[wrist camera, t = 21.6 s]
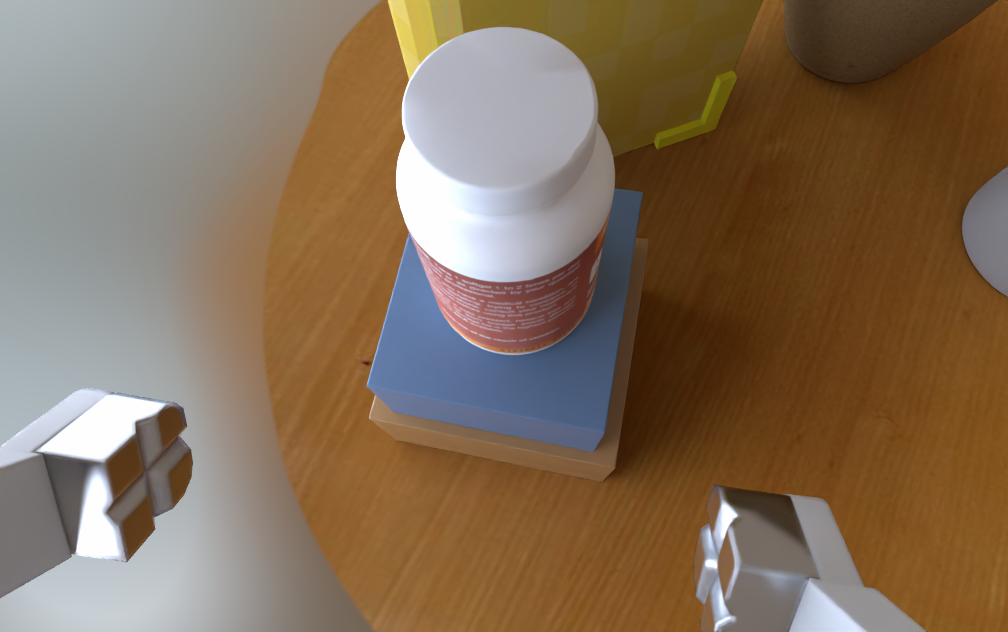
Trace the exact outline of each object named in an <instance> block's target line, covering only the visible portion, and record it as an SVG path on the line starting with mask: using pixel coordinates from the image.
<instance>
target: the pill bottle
mask: <svg viewBox="0 0 1008 632" xmlns="http://www.w3.org/2000/svg"><path fill="white" fill-rule="evenodd" d="M597 121H598V98H597V93H596V89H595V84H594V82H593V79H592V77H591V75H590V74H589V72H588V70H587V68H586V67H585V65H584V64H583V62H582V61H581V60H580V59H579V58H578V57H577V56H576V55H575V54H574V53H573V52H572V51H571V50H570V49H568V48H567V47H566V46H564V45H563V44H561V43H560V42H558V41H556V40H554V39H553V38H551V37H549V36H547V35H544V34H542V33H538V32H534V31H531V30H527V29H522V28H512V27H494V28H485V29H480V30H475V31H471V32H468V33H465V34H463V35H460V36H458V37H455V38H454V39H452V40H450V41H448V42H446V43H444V44H443V45H441V46H440V47H438V48H437V49H436V50H434V51H433V52H432V53H431V54H429V55H428V56H427V57H426V58H425V59H424V60H423V62H422V63H421V64H420V65H419V66H418V67H417V69H416V70H415V72H414V73H413V75H412V76H411V78H410V80H409V83H408V85H407V88H406V91H405V94H404V98H403V104H402V123H403V128H404V132H405V136H406V138H405V141H404V143H403V146H402V148H401V151H400V155H399V159H398V163H397V173H396V184H397V194H398V200H399V204H400V207H401V210H402V213H403V216H404V219H405V222H406V226H407V228H408V230H409V233H410V235H411V238H412V240H413V242H414V245H415V247H416V250H417V252H418V255H419V257H420V260H421V263H422V265H423V267H424V270H425V272H426V275H427V278H428V280H429V282H430V285H431V288H432V290H433V292H434V295H435V298H436V301H437V303H438V306H439V308H440V310H441V312H442V313H443V315H444V317H445V318H446V320H447V321H448V322H449V324H450V325H451V326H452V327H453V328H454V330H455V331H456V332H458V333H459V334H460V335H461V336H462V337H463V338H464V339H466V340H467V341H468V342H470V343H472V344H473V345H475V346H477V347H479V348H482V349H484V350H487V351H490V352H493V353H498V354H505V355H524V354H530V353H534V352H538V351H541V350H544V349H546V348H548V347H550V346H553V345H554V344H556V343H558V342H559V341H561V340H562V339H564V338H565V337H566V336H567V335H569V334H570V333H571V332H572V331H573V330H574V329H575V328H576V326H577V325H578V324H579V323H580V321H581V320H582V319H583V317H584V315H585V314H586V312H587V310H588V307H589V305H590V303H591V300H592V297H593V294H594V289H595V285H596V279H597V274H598V269H599V264H600V259H601V254H602V249H603V245H604V240H605V234H606V229H607V225H608V220H609V215H610V211H611V206H612V201H613V195H614V187H615V168H614V159H613V155H612V151H611V147H610V145H609V142H608V140H607V138H606V136H605V134H604V132H603V130H602V128H601V127H600V125H599V123H598V122H597Z"/></svg>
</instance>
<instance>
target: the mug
mask: <svg viewBox="0 0 1008 632" xmlns="http://www.w3.org/2000/svg"><path fill="white" fill-rule="evenodd" d="M962 234H963V240H964V245H965V248H966V250H967V253H968V255H969V257H970V259H971V261H972V263H973V264H974V266H975V267H976V269H977V270H978V272H979V273H980V274H981V275H982V276H983V278H984V279H985V280H986V281H988V282H989V283H990V284H991V285H992V286H993V287H994V288H996V289H997V290H998V291H1000V292H1001V293H1002V294H1004V295H1006V296H1007V297H1008V166H1007V167H1006V168H1005V169H1003V170H1002V171H1001V172H999V173H998V174H997V175H995V176H994V177H993V178H991V179H990V180H989V181H988V182H986V183H985V184H984V185H983V186H982V187H981V188H980V189H979V190H978V191H977V192H976V193H975V194H974V195H973V197H972V198H971V200H970V201H969V203H968V205H967V207H966V209H965V212H964V216H963V223H962Z"/></svg>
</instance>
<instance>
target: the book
mask: <svg viewBox="0 0 1008 632" xmlns="http://www.w3.org/2000/svg"><path fill="white" fill-rule="evenodd" d="M762 1H763V0H388V3H389V6H390V10H391V14H392V18H393V21H394V25H395V29H396V32H397V36H398V40H399V44H400V47H401V51H402V55H403V59H404V62H405V66H406V70H407V73H408V77H409V80H410V78H411V76H412V75H413V73H414V72H415V70H416V69H417V67H418V66H419V65H420V64H421V63H422V62H423V60H424V59H425V58H426V57H427V56H428V55H429V54H431V53H432V52H433V51H434V50H436V49H437V48H438V47H440V46H441V45H443V44H444V43H446V42H448V41H450V40H452V39H454V38H455V37H458V36H460V35H463V34H465V33H468V32H471V31H475V30H480V29H485V28H494V27H512V28H522V29H527V30H531V31H534V32H538V33H542V34H544V35H547V36H549V37H551V38H553V39H554V40H556V41H558V42H560V43H561V44H563V45H564V46H566V47H567V48H568V49H570V50H571V51H572V52H573V53H574V54H575V55H576V56H577V57H578V58H579V59H580V60H581V61H582V62H583V64H584V65H585V67H586V68H587V70H588V72H589V74H590V75H591V77H592V79H593V82H594V84H595V89H596V93H597V98H598V121H597V122H598V123H599V125H600V127H601V128H602V130H603V132H604V134H605V136H606V138H607V140H608V142H609V145H610V147H611V151H612V155H613V157H615V156H618V155H620V154H623V153H626V152H629V151H632V150H635V149H638V148H641V147H644V146H647V145H650V144H653V143H654V144H655V146H656V148H657V149H660V148H663V147H666V146H669V145H671V144H674V143H677V142H680V141H683V140H686V139H689V138H692V137H695V136H698V135H701V134H704V133H706V132H709V131H712V130H715V129H716V127H717V125H718V122H719V119H720V116H721V114H722V112H723V109H724V107H725V105H726V102H727V100H728V98H729V95H730V93H731V91H732V88H733V86H734V84H735V81H736V79H737V76H736V74H735V72H734V69H735V66H736V64H737V61H738V59H739V57H740V54H741V52H742V49H743V47H744V44H745V42H746V40H747V37H748V35H749V32H750V30H751V28H752V25H753V23H754V20H755V18H756V16H757V13H758V11H759V8H760V6H761V3H762Z"/></svg>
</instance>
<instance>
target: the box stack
mask: <svg viewBox="0 0 1008 632" xmlns="http://www.w3.org/2000/svg"><path fill="white" fill-rule="evenodd" d="M642 197H643V193H642V192H638V191H631V190H625V189H619V188H614V195H613V201H612V206H611V211H610V215H609V220H608V225H607V229H606V234H605V240H604V245H603V249H602V254H601V259H600V264H599V269H598V274H597V279H596V285H595V289H594V294H593V297H592V300H591V303H590V305H589V307H588V310H587V312H586V314H585V315H584V317H583V319H582V320H581V321H580V323H579V324H578V325H577V326H576V328H575V329H574V330H573V331H572V332H571V333H570V334H569V335H567V336H566V337H565V338H564V339H562V340H561V341H559V342H558V343H556V344H554V345H553V346H550V347H548V348H546V349H544V350H541V351H538V352H534V353H530V354H524V355H505V354H498V353H493V352H490V351H487V350H484V349H482V348H479V347H477V346H475V345H473V344H472V343H470V342H468V341H467V340H466V339H464V338H463V337H462V336H461V335H460V334H459V333H458V332H456V331H455V330H454V328H453V327H452V326H451V325H450V324H449V322H448V321H447V320H446V318H445V317H444V315H443V313H442V312H441V310H440V308H439V306H438V303H437V301H436V298H435V295H434V292H433V290H432V288H431V285H430V282H429V280H428V278H427V275H426V272H425V270H424V267H423V265H422V263H421V260H420V257H419V255H418V252H417V250H416V247H415V245H414V242H413V240H412V238H411V235H410V233H409V235H408V239H407V242H406V246H405V250H404V253H403V257H402V260H401V264H400V268H399V271H398V275H397V278H396V282H395V286H394V289H393V293H392V296H391V300H390V304H389V307H388V311H387V314H386V318H385V322H384V325H383V329H382V332H381V336H380V340H379V343H378V347H377V350H376V354H375V358H374V361H373V365H372V368H371V372H370V376H369V379H368V383H367V387H368V388H369V389H370V390H371V391H372V392H373V393H374V394H375V398H374V401H373V405H372V409H371V412H370V416H369V419H370V420H371V421H372V422H374V423H375V424H376V425H377V426H379V427H380V428H381V429H382V430H384V431H385V432H386V433H388V434H389V435H390V436H391V437H393V438H394V439H395V440H398V441H403V442H408V443H413V444H417V445H422V446H427V447H432V448H437V449H442V450H447V451H452V452H457V453H461V454H466V455H471V456H476V457H481V458H486V459H491V460H496V461H501V462H505V463H510V464H515V465H520V466H525V467H530V468H535V469H540V470H545V471H550V472H554V473H559V474H564V475H569V476H574V477H579V478H584V479H589V480H594V481H598V482H602V481H603V480H604V479H605V478H606V477H607V476H608V475H609V474H610V473H611V472H612V471H613V470H614V469H615V467H616V461H617V454H618V447H619V441H620V434H621V427H622V421H623V414H624V407H625V401H626V394H627V387H628V381H629V374H630V367H631V361H632V354H633V347H634V341H635V334H636V327H637V321H638V314H639V307H640V300H641V294H642V287H643V280H644V274H645V267H646V260H647V254H648V247H649V239H645V238H639V237H636V235H637V228H638V222H639V216H640V209H641V203H642Z"/></svg>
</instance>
